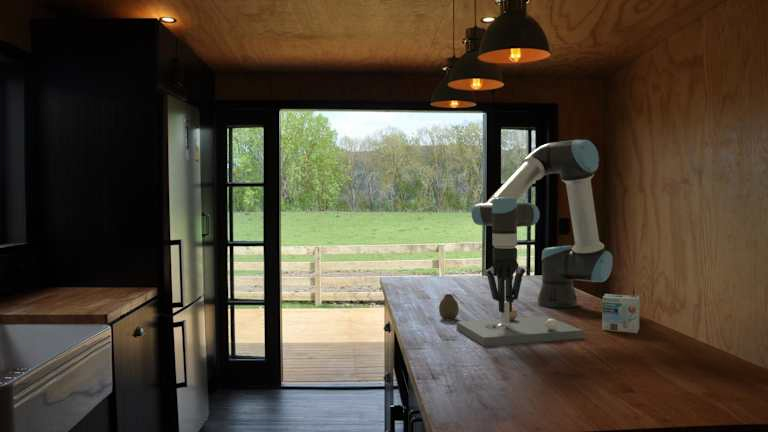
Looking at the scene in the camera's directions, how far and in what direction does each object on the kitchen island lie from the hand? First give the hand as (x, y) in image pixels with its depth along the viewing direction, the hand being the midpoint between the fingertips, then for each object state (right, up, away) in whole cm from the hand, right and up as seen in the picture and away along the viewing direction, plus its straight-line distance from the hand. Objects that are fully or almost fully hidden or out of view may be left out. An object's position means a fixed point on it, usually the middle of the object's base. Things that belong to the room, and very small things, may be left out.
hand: (505, 322), depth 178 cm
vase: (-15, -4, +24) cm, 29 cm away
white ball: (+13, 0, -6) cm, 14 cm away
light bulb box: (+38, -3, +5) cm, 38 cm away
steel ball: (-1, -2, 0) cm, 3 cm away
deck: (+4, -4, +1) cm, 6 cm away
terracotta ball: (+4, +1, +10) cm, 10 cm away
